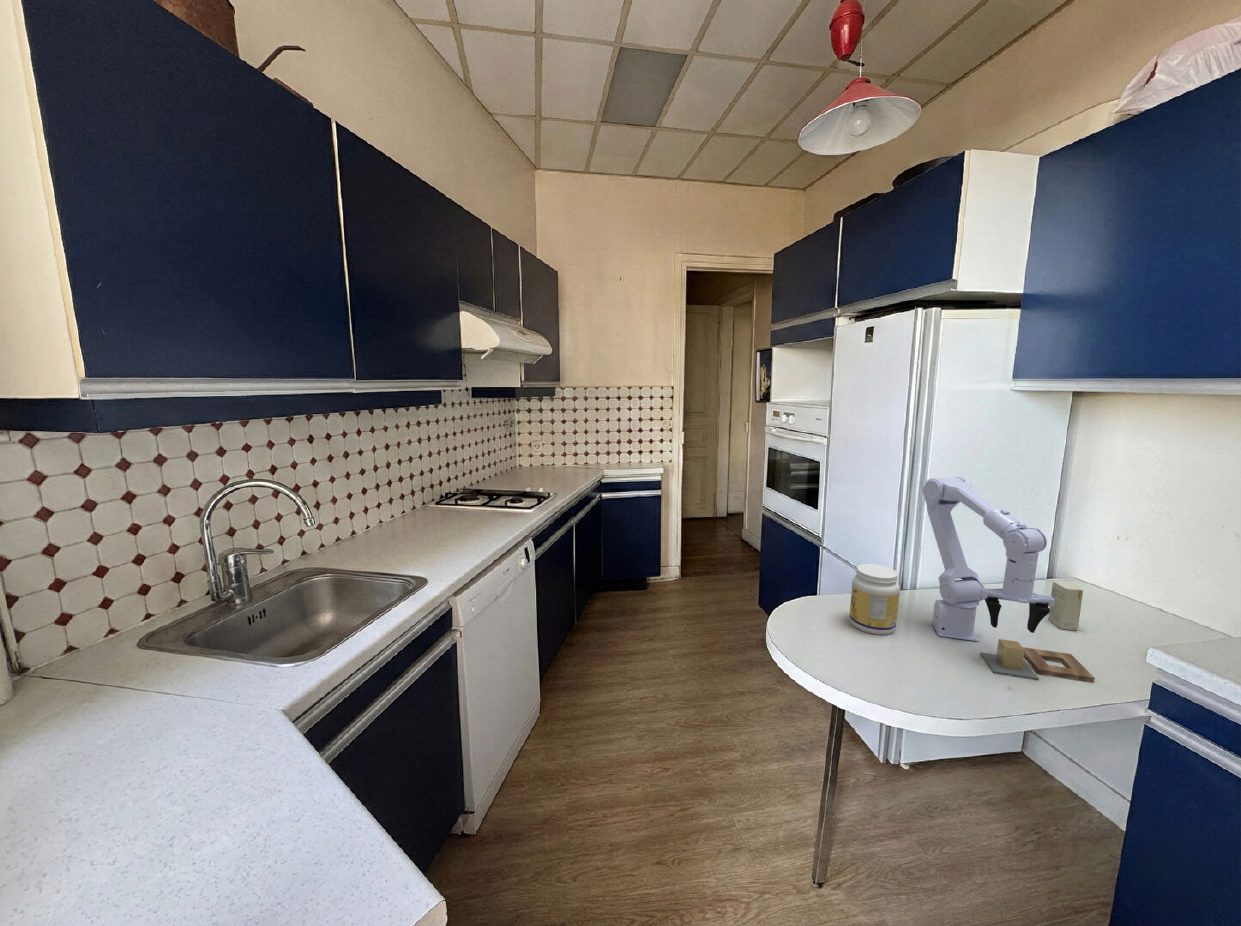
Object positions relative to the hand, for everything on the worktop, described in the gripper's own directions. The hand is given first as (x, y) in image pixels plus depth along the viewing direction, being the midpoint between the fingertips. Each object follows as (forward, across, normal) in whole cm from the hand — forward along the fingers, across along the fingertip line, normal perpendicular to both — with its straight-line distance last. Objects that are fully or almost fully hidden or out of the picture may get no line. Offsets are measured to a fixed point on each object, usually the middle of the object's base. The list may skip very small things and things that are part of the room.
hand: (1011, 628), depth 124 cm
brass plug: (+9, 0, -2) cm, 9 cm away
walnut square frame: (+9, +10, +2) cm, 14 cm away
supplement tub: (+10, -30, +10) cm, 32 cm away
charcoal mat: (+9, 0, -2) cm, 9 cm away
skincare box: (+10, +22, +28) cm, 37 cm away
